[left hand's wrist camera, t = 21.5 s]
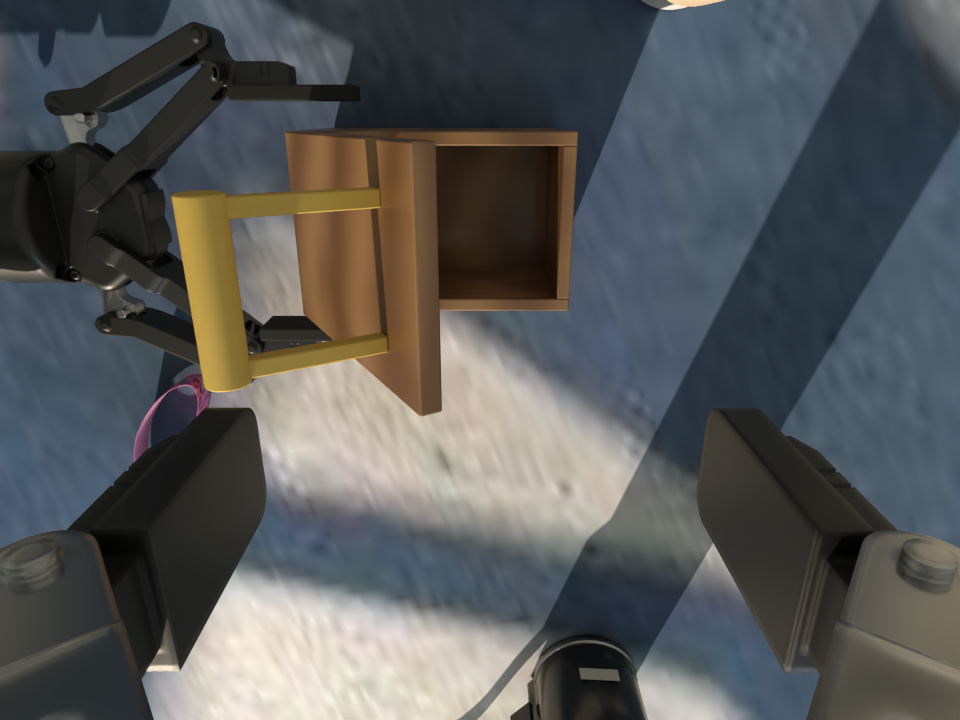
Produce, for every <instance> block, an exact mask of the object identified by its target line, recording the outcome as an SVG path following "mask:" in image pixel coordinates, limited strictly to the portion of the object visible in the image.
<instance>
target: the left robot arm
mask: <svg viewBox="0 0 960 720" xmlns="http://www.w3.org/2000/svg"><path fill="white" fill-rule="evenodd" d="M697 503H698V510H699V514H700V517H701V520H702V522H703V524H704V526H705V528H706V530H707V532H708V534H709V535H710V537H711V539H712V541H713V543H714V545H715V546H716V548H717V550H718V552H719V554H720V556H721V557H722V559H723V561H724V563H725V565H726V567H727V568H728V570H729V572H730V574H731V576H732V577H733V579H734V581H735V583H736V585H737V587H738V588H739V590H740V592H741V594H742V596H743V598H744V599H745V601H746V603H747V605H748V607H749V609H750V610H751V612H752V614H753V616H754V618H755V620H756V621H757V623H758V625H759V627H760V629H761V631H762V632H763V634H764V636H765V638H766V640H767V641H768V643H769V645H770V647H771V649H772V651H773V652H774V654H775V656H776V658H777V660H778V662H779V663H780V665H781V667H782V669H783V671H784V673H819V674H820V677H819V680H818V683H817V687H816V690H815V693H814V696H813V699H812V703H811V706H810V709H809V712H808V716H807V719H806V720H960V549H959V548H957V547H955V546H953V545H951V544H949V543H946V542H944V541H942V540H939V539H936V538H933V537H930V536H927V535H923V534H919V533H914V532H909V531H901V530H897V529H896V528H895V527H894V526H893V525H892V524H891V523H890V522H889V521H888V520H887V519H886V518H885V517H884V516H883V515H882V514H881V513H880V512H879V511H878V510H877V509H876V508H875V507H874V506H873V505H872V504H871V503H870V502H869V501H868V500H867V499H866V498H865V497H864V496H863V495H862V494H861V493H860V492H859V491H858V490H857V489H856V488H851V484H850V483H849V482H848V481H847V480H846V479H845V478H844V477H843V476H842V475H841V474H840V473H839V472H836V469H835V468H834V467H833V466H832V465H831V464H830V463H829V462H828V461H827V460H826V459H825V458H824V457H823V456H822V455H821V454H820V453H819V452H818V451H817V450H815V449H813V448H811V447H809V446H808V445H806V444H804V443H802V442H800V441H799V440H797V439H795V438H793V437H791V436H785V435H784V434H783V433H782V432H781V431H780V430H779V429H778V428H777V427H776V426H775V425H774V424H773V423H772V422H771V421H770V420H769V419H768V418H767V417H766V416H765V414H764V413H763V412H762V411H760V410H759V409H713V410H712V411H711V412H710V414H709V416H708V419H707V423H706V430H705V437H704V443H703V450H702V457H701V464H700V471H699V478H698V485H697ZM265 504H266V482H265V475H264V468H263V461H262V454H261V447H260V440H259V433H258V426H257V420H256V416H255V414H254V412H253V410H252V409H251V408H205V409H203V410H202V411H201V412H200V413H199V414H198V415H197V417H196V418H195V419H194V420H193V421H192V422H191V423H190V424H189V425H188V426H187V427H186V428H185V429H184V430H183V431H182V432H181V434H180V435H173V436H171V437H169V438H167V439H165V440H164V441H162V442H160V443H158V444H156V445H154V446H153V447H151V448H149V449H147V450H146V451H145V452H144V453H143V454H142V455H141V456H140V457H139V458H138V459H137V460H136V461H135V462H134V463H133V464H132V465H131V466H130V467H129V471H125V472H124V473H123V474H122V475H121V476H120V477H119V478H118V479H117V480H116V481H115V482H114V486H110V487H109V488H108V489H107V490H106V491H105V492H104V493H103V494H102V495H101V496H100V497H99V498H98V499H97V500H96V501H95V502H94V503H93V504H92V505H91V506H90V507H89V508H88V509H87V510H86V511H85V512H84V513H83V514H82V515H81V516H80V517H79V518H78V519H77V520H76V521H75V522H74V523H73V524H72V525H71V526H70V527H69V528H68V529H67V530H59V531H51V532H46V533H41V534H37V535H33V536H30V537H27V538H24V539H21V540H18V541H16V542H14V543H11V544H9V545H7V546H5V547H3V548H1V549H0V720H154V719H153V716H152V712H151V709H150V706H149V703H148V699H147V696H146V693H145V690H144V687H143V683H142V680H141V679H142V677H143V676H144V674H145V672H146V671H180V670H181V668H182V666H183V665H184V663H185V661H186V659H187V657H188V655H189V654H190V652H191V650H192V648H193V646H194V644H195V642H196V641H197V639H198V637H199V635H200V633H201V631H202V629H203V628H204V626H205V624H206V622H207V620H208V618H209V616H210V615H211V613H212V611H213V609H214V607H215V605H216V604H217V602H218V600H219V598H220V596H221V594H222V592H223V591H224V589H225V587H226V585H227V583H228V581H229V579H230V578H231V576H232V574H233V572H234V570H235V568H236V567H237V565H238V563H239V561H240V559H241V557H242V555H243V554H244V552H245V550H246V548H247V546H248V544H249V542H250V541H251V539H252V537H253V535H254V533H255V531H256V529H257V528H258V526H259V524H260V522H261V520H262V517H263V514H264V510H265ZM637 681H638V680H637V676H636V670H635V667H634V663H633V661H632V658H631V657H630V655H629V654H628V653H627V651H626V650H625V649H623V648H622V647H621V646H620V645H618V644H616V643H614V642H612V641H610V640H607V639H604V638H600V637H592V636H583V637H575V638H570V639H567V640H564V641H562V642H559V643H557V644H556V645H554V646H552V647H551V648H549V649H548V650H547V651H546V652H545V653H544V654H543V655H542V656H541V658H540V659H539V661H538V662H537V664H536V667H535V671H534V679H533V680H532V681H531V682H529V683H528V684H527V686H528V698H529V702H528V703H527V704H526V705H524V706H523V707H522V708H520V709H519V710H518V711H517V712H515V713H514V714H513V715H511V716H510V719H511V720H648V717H647V714H646V710H645V707H644V703H643V699H642V696H641V692H640V689H639V685H638V682H637Z"/></svg>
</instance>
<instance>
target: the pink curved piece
mask: <svg viewBox="0 0 960 720" xmlns="http://www.w3.org/2000/svg"><path fill="white" fill-rule="evenodd" d="M180 386H189V387H192V388H193V389H194V390H195V392H196V394H197V399H198V408H197V415H198V414H199V413H200V412H201V411H202V410H203V409H205V408H208V403H209V395H210V391H209V390H207V389H206V388H205V387H204V383H203V377H202V375H201V374H193V375H190V376H187V377H185V378H183V379H182V380H180V381H179V382H178V383H176V384H175V385H174V386H173V387H172V388H171V389H169V390H168V391H167V392H166V393H165V394H164V395H163V396H161V397H160V398H159V399H158V400H157V401H156V402H155V404H154V405H153V406H152V407H151V409H150V410H149V411H148V413H147V414H146V416H145V418H144V420H143V422H142V424H141V426H140V428H139V431H138V433H137V435H136V439H135V448H134V462H135V461H136V460H137V459H138V458H139V457H140V456H141V455H142V454H143V453H144V452H145V451H146V450H147V449H148V434H149V429H150V425H151V421H152V418H153V416H154V413H155V411H156V409H157V407H158V406H159V404H160V402H161V401H162V399H163V398H164V397H165V395H166V394H167V393H168V392H169V391H171V390H172V389H175V388H177V387H180ZM196 417H197V416H196Z"/></svg>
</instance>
